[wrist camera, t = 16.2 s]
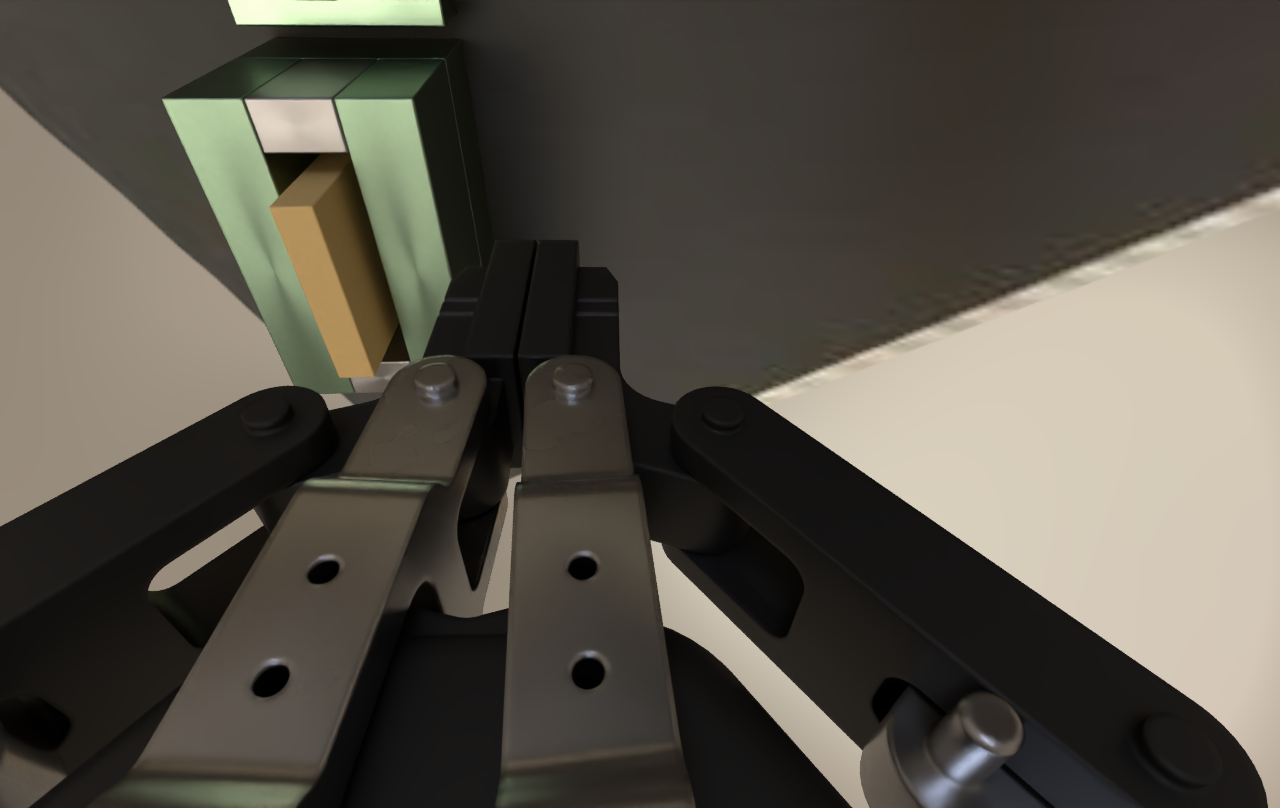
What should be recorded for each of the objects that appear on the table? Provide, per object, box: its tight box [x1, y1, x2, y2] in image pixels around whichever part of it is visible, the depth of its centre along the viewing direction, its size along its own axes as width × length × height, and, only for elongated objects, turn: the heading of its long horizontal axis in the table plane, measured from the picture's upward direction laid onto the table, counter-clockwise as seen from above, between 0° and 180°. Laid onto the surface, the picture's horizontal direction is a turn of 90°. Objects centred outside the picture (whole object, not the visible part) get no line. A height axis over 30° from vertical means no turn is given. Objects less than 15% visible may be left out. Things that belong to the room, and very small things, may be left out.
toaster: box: [161, 38, 494, 394], centre depth 31 cm, size 14×9×10 cm, turn 179°
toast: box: [269, 153, 399, 378], centre depth 28 cm, size 8×2×8 cm, turn 0°
